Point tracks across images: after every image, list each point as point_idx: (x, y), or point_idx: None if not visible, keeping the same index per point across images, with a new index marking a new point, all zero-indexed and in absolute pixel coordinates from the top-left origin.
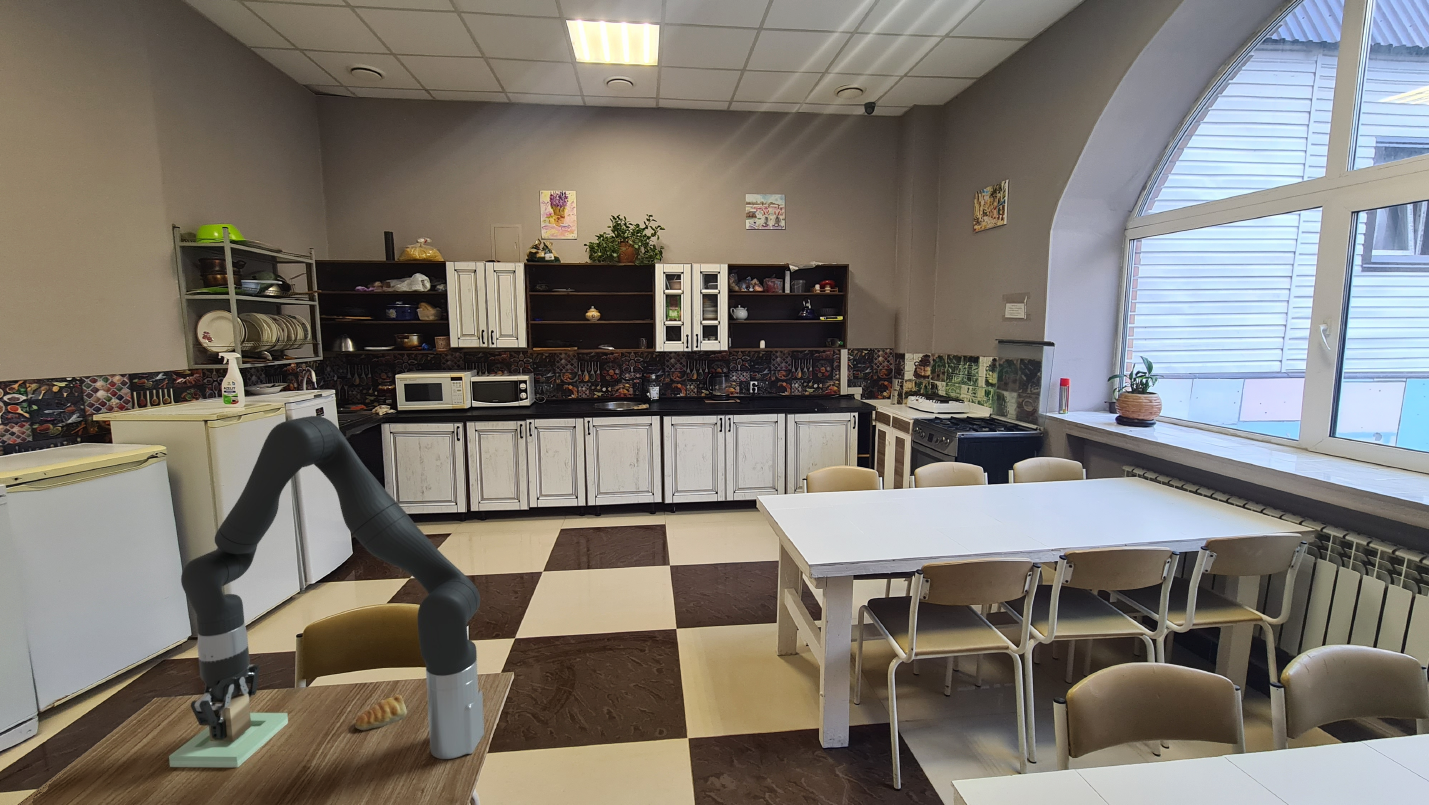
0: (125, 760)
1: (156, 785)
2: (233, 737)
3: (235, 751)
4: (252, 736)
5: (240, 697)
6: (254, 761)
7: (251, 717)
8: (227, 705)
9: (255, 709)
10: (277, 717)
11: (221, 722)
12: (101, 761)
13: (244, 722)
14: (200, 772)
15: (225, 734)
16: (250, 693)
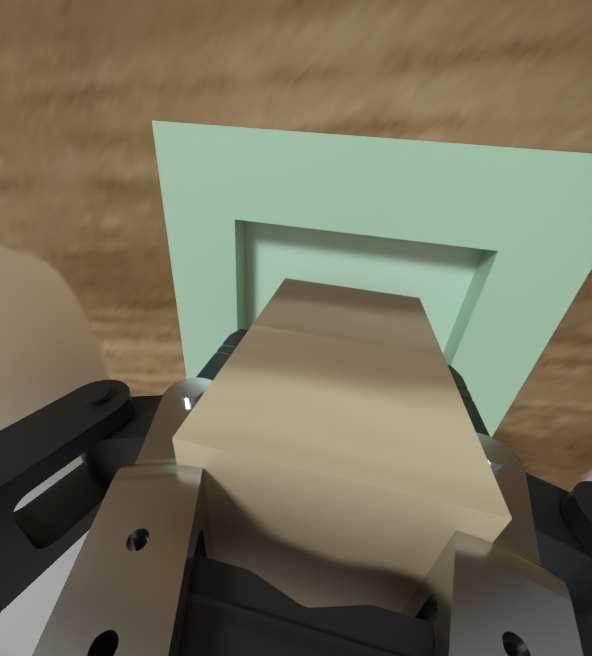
0: None
1: (563, 443)
2: (417, 305)
3: (558, 216)
4: (394, 203)
5: (242, 487)
6: (563, 78)
7: (214, 321)
8: (503, 585)
9: (135, 350)
10: (201, 162)
11: (495, 440)
12: None
13: (320, 308)
14: None
15: None
16: (121, 417)
